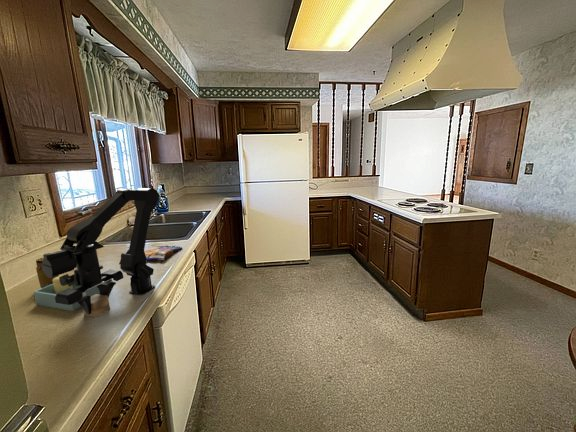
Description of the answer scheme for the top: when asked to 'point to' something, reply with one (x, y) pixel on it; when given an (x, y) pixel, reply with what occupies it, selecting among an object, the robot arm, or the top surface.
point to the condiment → (43, 275)
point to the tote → (48, 295)
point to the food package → (161, 253)
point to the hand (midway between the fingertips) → (96, 309)
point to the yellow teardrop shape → (58, 286)
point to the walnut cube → (98, 305)
